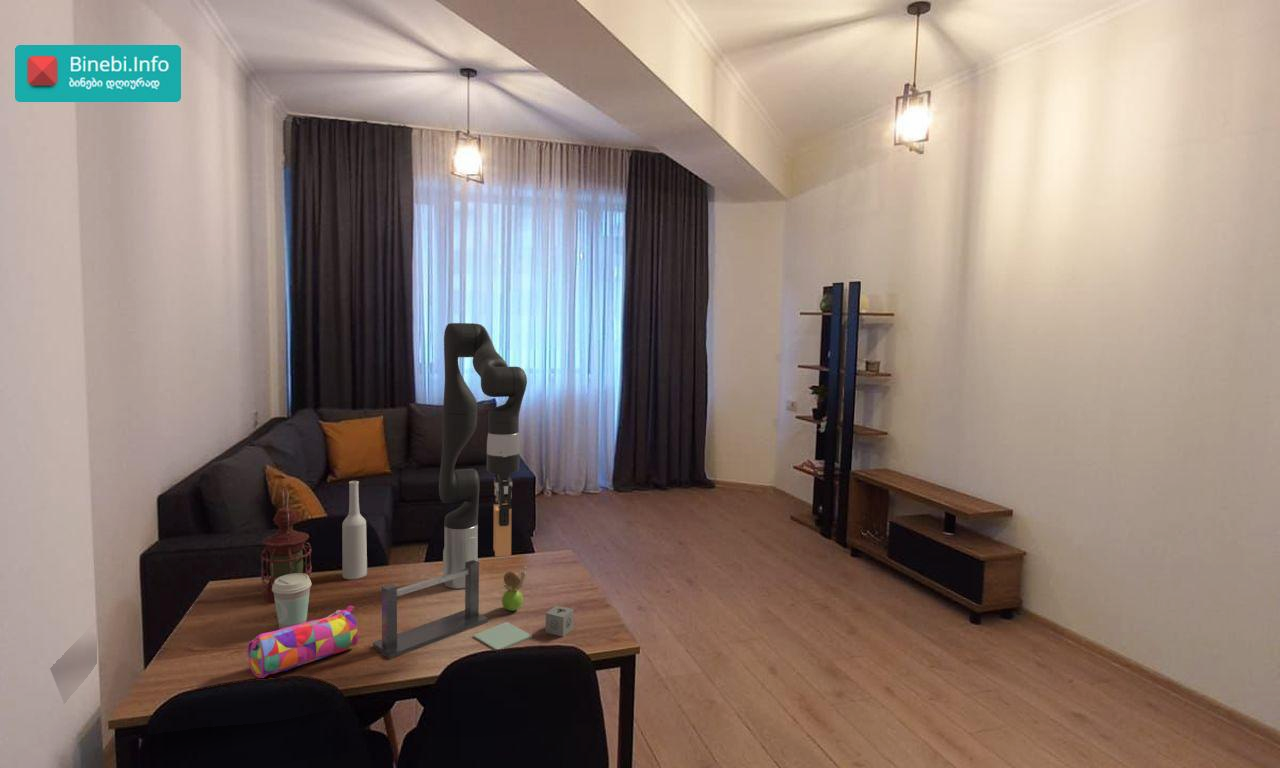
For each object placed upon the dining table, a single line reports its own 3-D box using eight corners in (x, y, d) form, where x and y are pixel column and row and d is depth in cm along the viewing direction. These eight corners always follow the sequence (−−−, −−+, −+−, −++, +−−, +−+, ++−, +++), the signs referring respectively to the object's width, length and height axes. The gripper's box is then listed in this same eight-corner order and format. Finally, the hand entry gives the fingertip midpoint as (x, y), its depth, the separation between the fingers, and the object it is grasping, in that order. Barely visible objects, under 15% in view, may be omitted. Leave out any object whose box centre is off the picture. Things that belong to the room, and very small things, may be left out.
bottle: (350, 570, 197) (349, 478, 194) (371, 571, 196) (370, 479, 193) (337, 578, 190) (336, 483, 188) (359, 580, 189) (358, 485, 187)
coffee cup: (274, 621, 163) (273, 574, 162) (313, 616, 166) (312, 570, 165) (270, 637, 155) (269, 588, 154) (311, 631, 158) (310, 583, 157)
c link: (493, 548, 159) (493, 504, 158) (508, 547, 160) (508, 503, 159) (495, 556, 153) (495, 510, 152) (511, 555, 154) (511, 509, 153)
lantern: (316, 597, 177) (314, 488, 174) (265, 608, 170) (262, 494, 167) (307, 582, 187) (305, 479, 184) (258, 592, 180) (255, 484, 177)
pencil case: (343, 636, 157) (343, 599, 156) (363, 649, 151) (363, 611, 150) (243, 672, 140) (242, 631, 139) (261, 688, 134) (260, 646, 133)
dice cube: (573, 628, 164) (573, 609, 164) (563, 637, 160) (563, 617, 159) (556, 624, 166) (556, 605, 166) (545, 632, 162) (545, 613, 161)
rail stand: (372, 646, 152) (372, 583, 151) (469, 612, 171) (469, 556, 170) (389, 659, 147) (389, 594, 145) (487, 622, 166) (488, 564, 165)
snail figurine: (521, 615, 170) (522, 570, 169) (498, 612, 171) (498, 568, 170) (529, 607, 175) (529, 563, 174) (506, 604, 177) (507, 561, 176)
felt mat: (473, 636, 158) (473, 635, 158) (507, 623, 166) (507, 621, 166) (497, 651, 152) (497, 649, 152) (532, 636, 159) (532, 635, 159)
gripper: (484, 446, 160) (484, 514, 161) (489, 458, 146) (488, 532, 148) (515, 445, 162) (514, 512, 164) (523, 457, 149) (522, 530, 150)
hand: (502, 521), depth 156 cm, fingers closed on c link, 5 cm apart
